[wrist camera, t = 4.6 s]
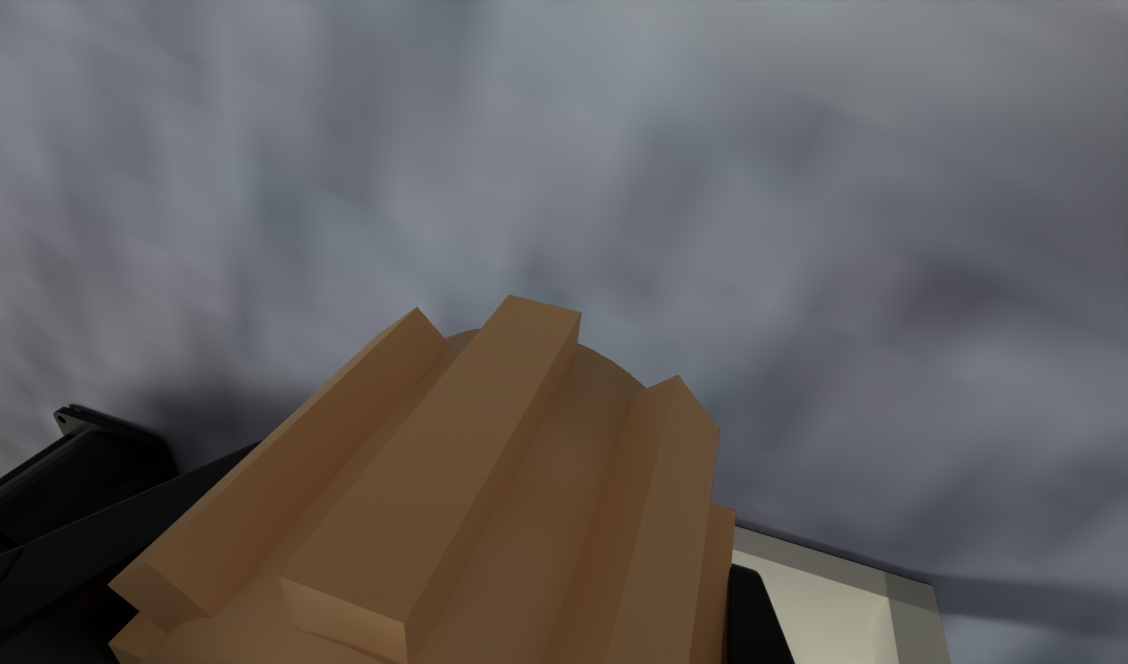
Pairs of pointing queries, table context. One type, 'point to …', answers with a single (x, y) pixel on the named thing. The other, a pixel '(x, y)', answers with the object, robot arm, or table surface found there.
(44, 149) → the table surface
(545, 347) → the gear hub
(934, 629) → the housing
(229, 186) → the table surface
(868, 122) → the table surface
